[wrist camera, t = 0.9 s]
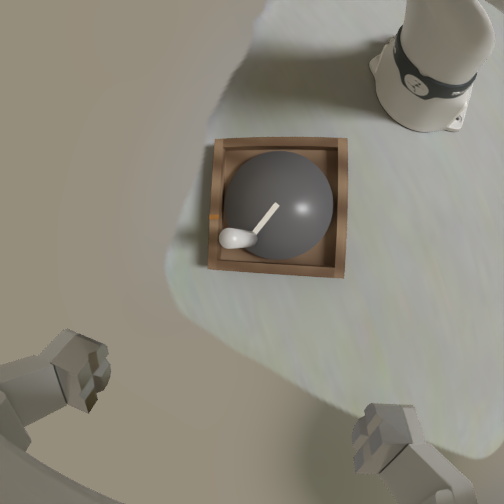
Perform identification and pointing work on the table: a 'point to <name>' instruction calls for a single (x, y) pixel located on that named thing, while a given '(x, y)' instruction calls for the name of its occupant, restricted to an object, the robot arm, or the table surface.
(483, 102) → the table surface
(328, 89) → the table surface
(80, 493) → the robot arm
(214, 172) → the dial housing
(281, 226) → the dial
